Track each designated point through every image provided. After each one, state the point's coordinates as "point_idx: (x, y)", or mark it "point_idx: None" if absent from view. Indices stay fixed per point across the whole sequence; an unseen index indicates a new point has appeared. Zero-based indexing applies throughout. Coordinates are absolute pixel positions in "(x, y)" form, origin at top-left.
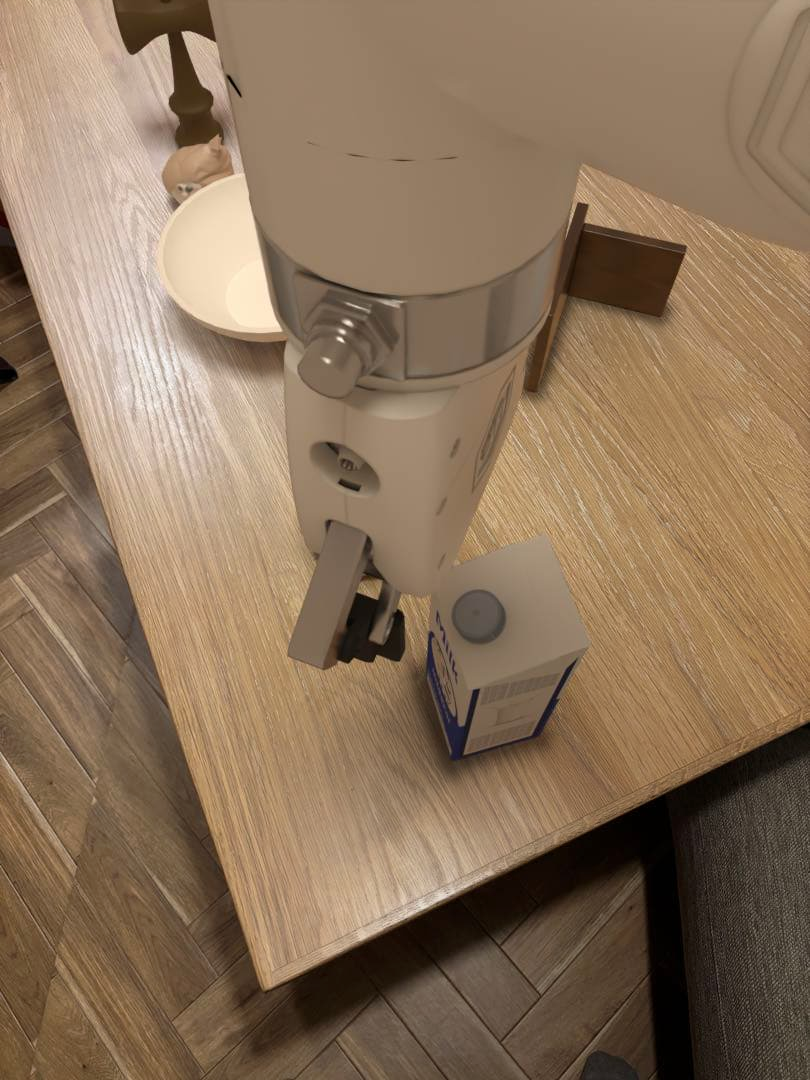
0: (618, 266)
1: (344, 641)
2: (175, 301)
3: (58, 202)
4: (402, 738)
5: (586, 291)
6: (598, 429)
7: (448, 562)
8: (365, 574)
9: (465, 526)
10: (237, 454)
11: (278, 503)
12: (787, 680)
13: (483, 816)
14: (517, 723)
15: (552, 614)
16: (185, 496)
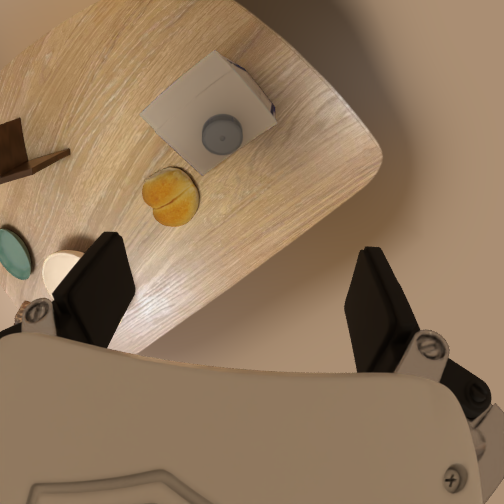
0: (7, 150)
1: (484, 419)
2: (122, 318)
3: (116, 350)
4: (272, 135)
5: (23, 154)
6: (73, 111)
7: (420, 426)
8: (194, 186)
9: (332, 437)
10: (165, 263)
11: (178, 238)
12: None
13: (297, 84)
14: (252, 81)
15: (200, 84)
16: (195, 275)
